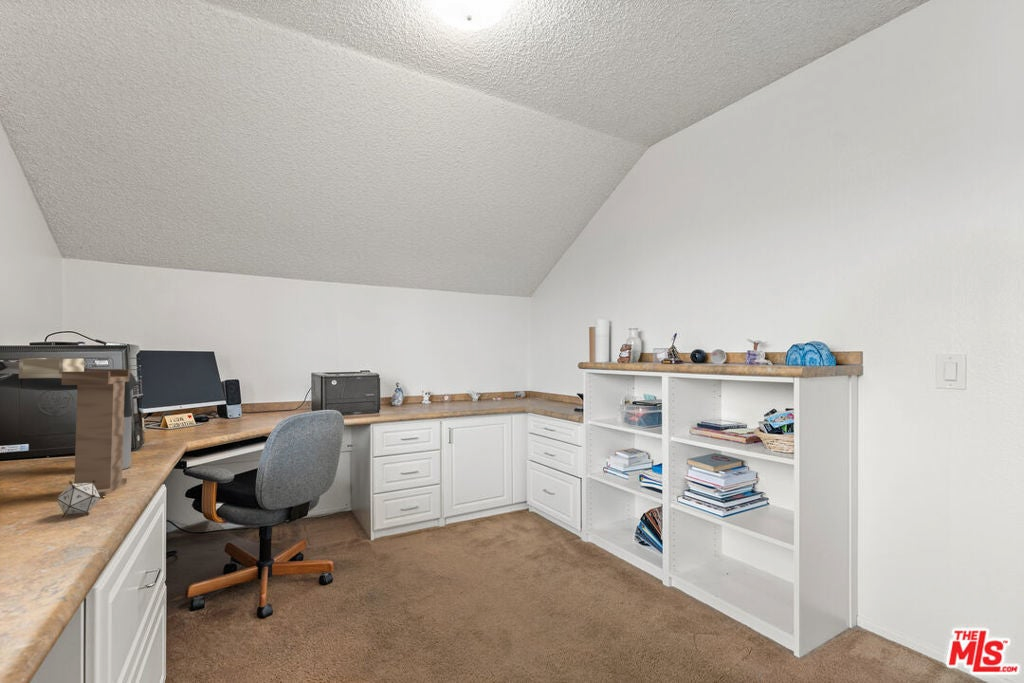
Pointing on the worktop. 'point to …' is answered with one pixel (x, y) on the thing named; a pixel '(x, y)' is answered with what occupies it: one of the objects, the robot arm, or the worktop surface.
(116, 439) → the stand
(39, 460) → the worktop surface
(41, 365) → the tray
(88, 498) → the game die
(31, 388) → the robot arm
